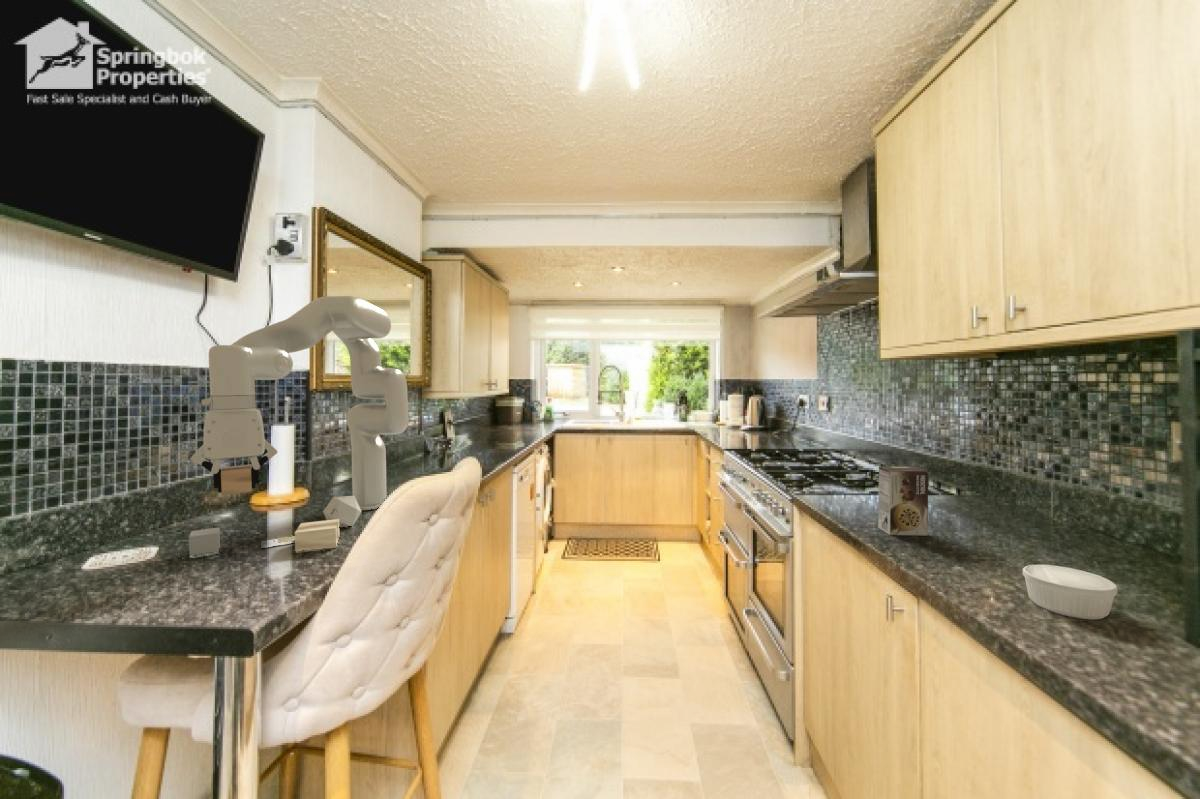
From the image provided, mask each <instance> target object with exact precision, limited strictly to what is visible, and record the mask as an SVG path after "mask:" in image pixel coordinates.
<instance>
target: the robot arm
mask: <svg viewBox="0 0 1200 799" xmlns="http://www.w3.org/2000/svg"><path fill="white" fill-rule="evenodd" d="M391 329H392V321H391V318H390V316H389V315H388V313H387V312H386V311H385V310H384V309H382V308H380V307H379V306H377V305H374V304H372V303H370V302H368V301H366V300H364V299H362V298H359V297H357V296H352V295H334V296H330V295H329V296H321V297H317V298H315V299H313V300H312V301H311V302H309V303H307V304H306V305H304V306H303V307H301V309H299V310H298V311H296V312H295V313H293V314H291V316H289V317H288V318H286V319H283V320H280V321H278V322H275V323H272V324H270V325H268V326H265V327H263V328H259V329H256V330H254V331H252V332H249V333H248V334H245V335H244V336H242V337H241V338H239V339H238V340H236V341H234V342H233V343H232V344H218V345H217V344H216V345H213V346H211V347H210V348H209V350H208V370H209V371H208V372H209V392H210V393H209V394H210V395H209V397H208V398H206V399H201V406H202V407H205V406H206V407H208V408H210V411H209V410H208V411H206V413H205V417H204V422H203V423H204V424H203V425H204V426H203V444H202V445H201V446H200V447H199V448H198V449H197V450H196V452H194V454H192V456H191V457H190V461H192V462H194V463H195V464H197V465H199V466H201V467H203V468H205V469H206V470H207V471H209V472H211V474H212V476H213V477H212V478H213V489H217V492H218V493H222V486H221V469H222V468H221V465H222V461H223V460H232V459H233V460H234V459H243V458H244V459H246V458H249V460H250V463H251V481H252V490H253V489H254V490H255V489H256V484H257V485H258V484H260V474H259V473H260V471H259V470H260V468H261V467H263V466H264V465H265V464H266V463H267V462H268V460H270V459H271V458H273V457H274V456H276V454H277V453H278V451H277V450H278V449H276V448H275V447H274V446H273V445H271V443H270V442H268V440H266V438H265V430H264V420H263V417H262V413H261V410H260V409H257V408H256V405H257V404H256V386H255V383H256V381H274V380H279V379H280V380H281V379H283V378H285V377H286V376H288V375H289V374H290V373H291V371H292V370H293V366H294V365H293V364H294V362H293V358H292V356H291V355H290V354H291V353H296V352H301V351H304V350H307V349H310V348H313V347H314V346H316V345H317V344H318V343H319V342H321V341H322V340H323V339H324V338H325V337H326V336H327V335H329V334H330V333H331V332H333V333H334V335H335V336H336V337H338V338H339V340H341V342H342V343H343V344H344V346H345V347H346V349H347V351H348V355H349V365H350V366H349V367H350V383H351V384H350V386H351V391H352V394H353V396H355V397H356V398H358V399H363V400H384V401H385V403H378V402H377V403H373V402H372V403H370V402H369V403H360V404H356V405H354V406H352V407H351V408H350V409H349V410H348V412H347V416H346V423H347V427H348V432H349V436H350V443H351V444H350V445H351V482H352V483H351V485H352V496H355V498H356V501H357V503H358V505H359V507H360V509H361V511H369V510H370V511H371V509H372V510H377V508H378V507H379V505H380V504H381V503H382V502H383V500H384V499H385V498H386V497H387V495H388V494H387V492H388V491H387V449H386V445H385V443H384V440H383V439H382V438H381V436H380V435H385V436H388V435H389V436H394V435H401V434H403V433H404V432H405V431H406V429H407V427H408V423H409V402H408V401H409V400H408V384H407V380H406V379H407V378H406V376H405V374H404V373H403V372H402V371H401V370H400V369H397V368H395V367H383V366H382V360H381V359H382V358H381V357H382V356H381V350H380V348H379V346H378V344H377V343H376V342H375V340H374V339H377V340H378V339H383V338H385V337H387V336H388V335H389V334H390V332H391ZM265 450H266V451H267V452H266V451H265ZM265 452H266V453H265ZM264 453H265V454H264ZM203 455H204V458H203ZM259 456H261V457H259ZM258 457H259V459H258ZM205 458H206V459H205ZM209 460H211V461H213V463H212V462H211V461H209ZM387 498H388V497H387ZM378 509H379V508H378Z"/></svg>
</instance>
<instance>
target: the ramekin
mask: <svg viewBox="0 0 1200 799" xmlns="http://www.w3.org/2000/svg"><path fill="white" fill-rule="evenodd" d="M1022 575H1023V577H1024V580H1025V585H1026V586H1025V587H1026V590H1027V594H1028V597H1029V599H1030V600H1031V601H1032V602H1033V604H1035V605H1037V606H1038V607H1040V608H1042V609H1045V610H1046V611H1050V612H1052V613H1056V614H1058V615H1061V616H1062V615H1063V616H1067V617H1071V618H1077V619H1084V620H1101V619H1105V617H1107V616H1108V615H1110V612H1111V609H1112V606H1113V603H1114V600H1115V596H1116V595H1117V594H1118V590H1119V589H1118V586H1117V585H1116V583H1114V582H1113V581H1112V580H1109V579H1108V578H1106V577H1103V576H1101V575H1098V574H1095V573H1092V572H1087V571H1084V570H1080V569H1078V568H1077V569H1076V568H1072V567H1067V566H1060V565H1051V564H1029V565H1026V566H1024V567H1023V568H1022Z"/></svg>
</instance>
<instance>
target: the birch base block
mask: <svg viewBox="0 0 1200 799" xmlns="http://www.w3.org/2000/svg"><path fill="white" fill-rule="evenodd" d="M294 535H295V544H294V546H295V547H294V552H295V551H302V550H311V549H323V548H334V547H336V546H337V547H338V545H337V543H338V544H339V542H338V540H339V541H340V539H339V537H341V535H340V528H339V519H335V520H326V519H325V520H318V521H317V520H316V521H310V522H309V521H307V522H300V524H299V526H298V527H297V529H296V530H295V531H294Z"/></svg>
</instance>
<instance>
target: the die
mask: <svg viewBox="0 0 1200 799" xmlns="http://www.w3.org/2000/svg"><path fill="white" fill-rule="evenodd" d="M362 511H363V510H361V509H360V507H359V505H358V503H357V501H356V498H355V496H353V495H344V496H342V495H341V496H333V497H332V498H331V499H330V501H329V502H328V504H327V506H326V507H324V510H323V511H322V513H323V516H324V517H325V521H326V520H335V519H339V527H344V526H353V527H354V525H355V523H356V522H357V520H358V519H359V517H360V516H361V514H362Z"/></svg>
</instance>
